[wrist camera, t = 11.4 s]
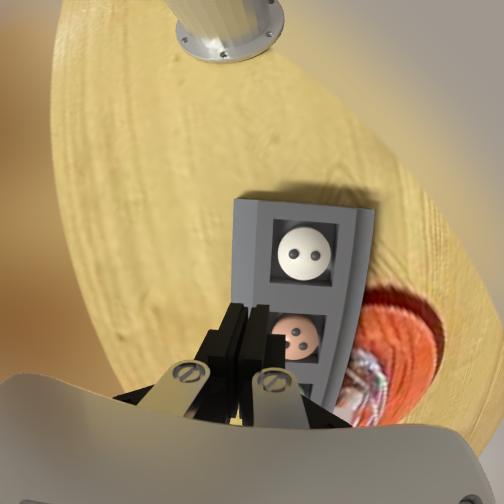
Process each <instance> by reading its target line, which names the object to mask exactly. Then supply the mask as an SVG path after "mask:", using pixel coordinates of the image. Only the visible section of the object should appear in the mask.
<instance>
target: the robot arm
mask: <svg viewBox="0 0 504 504" xmlns="http://www.w3.org/2000/svg"><path fill="white" fill-rule="evenodd" d="M164 1H165V3H166V4H167V5H168V7H169V8H170V9H171V10H172V12H173V13H174V14H175V16H176V17H177V18H178V21H177V24H176V37H177V40H178V42H179V44H180V46H181V47H182V48H183V49H184V51H185V52H187V53H188V54H189V55H190V56H192V57H194V58H196V59H198V60H200V61H204V62H207V63H216V64H225V63H234V62H240V61H243V60H246V59H250V58H252V57H254V56H256V55H259V54H260V53H262V52H264V51H265V50H267V49H268V48H269V47H270V46H272V45H273V44H274V43H275V42H276V40H277V39H278V38H279V36H280V35H281V32H282V30H283V27H284V13H283V9H282V7H281V5H280V4H279V2H278V1H277V0H164ZM225 56H227V57H225ZM224 57H225V58H224ZM269 312H270V305H265V304H257V306H256V307H252V308H251V312H250V316H249V319H248V307H244V304H243V303H230V305H229V307H228V309H227V312H226V314H225V316H224V318H223V321H222V323H221V325H220V327H219V330H212V329H210V330H209V331H208V333H207V335H206V337H205V339H204V341H203V343H202V345H201V346H200V348H199V350H198V352H197V354H196V356H195V358H194V360H184V361H180V362H177V363H175V364H174V365H172V366H171V367H170V368H169V369H168V370H167V372H166V373H165V374H164V375H163V376H162V377H161V378H160V380H159V381H158V382H157V383H156V384H155V385H152V386H148V387H145V388H142V389H139V390H135V391H132V392H129V393H125V394H122V395H118V396H116V397H113V398H108V397H106V396H103V395H100V394H97V393H94V392H91V391H88V390H86V389H83V388H81V387H78V386H75V385H72V384H69V383H66V382H64V381H62V380H59V379H56V378H52V377H49V376H44V375H40V374H32V373H22V374H15V375H13V376H11V377H9V378H8V379H6V380H5V381H3V382H2V383H1V384H0V504H496V500H495V497H494V495H493V492H492V489H491V486H490V484H489V481H488V479H487V477H486V474H485V473H484V470H483V468H482V466H481V464H480V462H479V460H478V458H477V456H476V455H475V453H474V451H473V450H472V448H471V447H470V445H469V444H468V443H467V441H466V440H465V439H464V438H463V437H462V436H461V435H460V434H459V433H457V432H456V431H454V430H452V429H450V428H446V427H442V426H438V425H429V424H390V425H380V426H367V427H363V426H361V427H352V426H351V425H350V424H349V423H347V422H345V421H344V420H342V419H340V418H339V417H337V416H335V415H334V414H332V413H331V412H329V411H327V410H326V409H324V408H322V407H321V406H319V405H318V404H316V403H315V402H313V401H311V400H310V399H308V398H307V397H305V396H304V395H302V394H301V393H300V389H299V385H298V382H297V379H296V377H295V375H294V374H293V373H291V372H290V371H288V370H286V369H285V355H286V334H269ZM238 406H239V417H240V419H242V425H243V426H240V425H231V424H229V423H230V419H231V418H236V415H237V410H238Z"/></svg>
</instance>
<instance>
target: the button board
mask: <svg viewBox="0 0 504 504" xmlns="http://www.w3.org/2000/svg"><path fill="white" fill-rule="evenodd" d="M374 216H375V210H373V209H367V208H358V207H349V206H339V205H328V204H317V203H304V202H291V201H276V200H259V199H238V198H236V199H234V212H233V240H232V276H231V303H243V304H244V307H248V319H249V316H250V312H251V308H252V307H256V306H257V304H265V305H270V312H269V334H272V327H273V325H274V323H275V321H276V320H277V319H278V318H279V317H280V316H282V315H283V314H286V313H297V314H306V315H308V316H309V317H311V318H312V320H313V321H314V323H315V325H316V329H317V335H318V344H317V346H316V348H315V350H314V351H313V352H312V353H311V354H310V355H309V356H307V357H305V358H302V359H298V360H289V359H285V369H286V370H288V371H290V372H291V373H293V374H294V375H295V377H296V379H297V382H298V383H301V384H302V385H303V386H304V389H305V397H307V398H308V399H310V400H311V401H313V402H315V403H316V404H318V405H319V406H321V407H322V408H324V409H326V410H327V411H329V412H331V413H333V410H334V407H335V404H336V401H337V398H338V395H339V392H340V388H341V385H342V382H343V378H344V375H345V371H346V368H347V364H348V360H349V357H350V353H351V349H352V345H353V341H354V337H355V332H356V328H357V324H358V319H359V314H360V310H361V305H362V299H363V294H364V289H365V283H366V277H367V271H368V265H369V258H370V251H371V243H372V235H373V226H374ZM301 225H305V226H310V227H313V228H315V229H317V230H318V231H319V232H320V233H321V234H322V235H323V236H324V237H325V239H326V240H327V242H328V244H329V246H330V251H331V257H330V261H329V264H328V266H327V268H326V269H325V271H324V272H323V273H322V274H320V275H319V276H317V277H316V278H313V279H310V280H298V279H295V278H292V277H290V276H289V275H288V274H286V273H285V272H284V270H283V269H282V268H281V266H280V263H279V260H278V249H279V243H280V240H281V238H282V237H283V235H284V234H285V233H286V232H287V231H288V230H290V229H291V228H293V227H296V226H301ZM238 409H239V406H238Z"/></svg>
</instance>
